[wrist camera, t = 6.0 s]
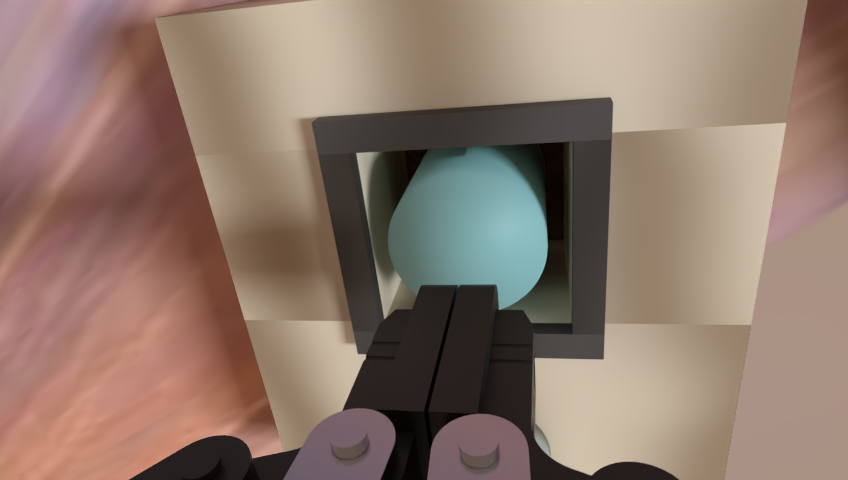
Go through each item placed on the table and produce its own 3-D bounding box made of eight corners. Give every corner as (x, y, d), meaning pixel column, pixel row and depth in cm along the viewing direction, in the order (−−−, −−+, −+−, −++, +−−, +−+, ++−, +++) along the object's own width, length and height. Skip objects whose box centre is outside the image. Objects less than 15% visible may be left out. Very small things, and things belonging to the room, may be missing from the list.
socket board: (735, -56, 15) (832, -57, 10) (676, 445, 23) (714, 581, 18) (248, 0, 18) (138, 21, 13) (345, 428, 26) (301, 542, 21)
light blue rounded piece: (543, 108, 18) (546, 167, 13) (545, 223, 19) (548, 315, 15) (418, 116, 19) (377, 175, 14) (431, 226, 20) (398, 314, 15)
